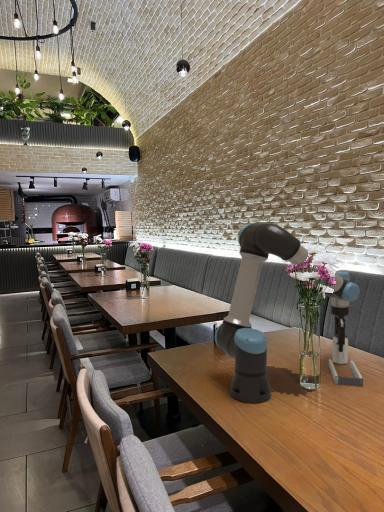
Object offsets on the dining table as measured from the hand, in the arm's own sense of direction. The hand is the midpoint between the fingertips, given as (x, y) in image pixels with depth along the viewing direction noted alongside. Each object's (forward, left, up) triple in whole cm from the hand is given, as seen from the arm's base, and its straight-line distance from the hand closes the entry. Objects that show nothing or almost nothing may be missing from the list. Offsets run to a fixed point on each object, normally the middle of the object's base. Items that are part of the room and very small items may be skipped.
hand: (339, 355), depth 173 cm
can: (0, 0, -3) cm, 3 cm away
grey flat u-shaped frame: (-16, 0, -3) cm, 16 cm away
